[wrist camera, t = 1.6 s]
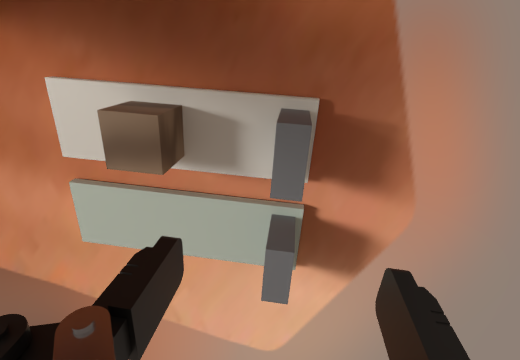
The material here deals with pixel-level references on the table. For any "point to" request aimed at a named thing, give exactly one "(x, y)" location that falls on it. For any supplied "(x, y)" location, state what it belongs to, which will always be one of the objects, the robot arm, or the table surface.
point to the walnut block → (142, 136)
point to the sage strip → (195, 226)
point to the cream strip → (201, 128)
